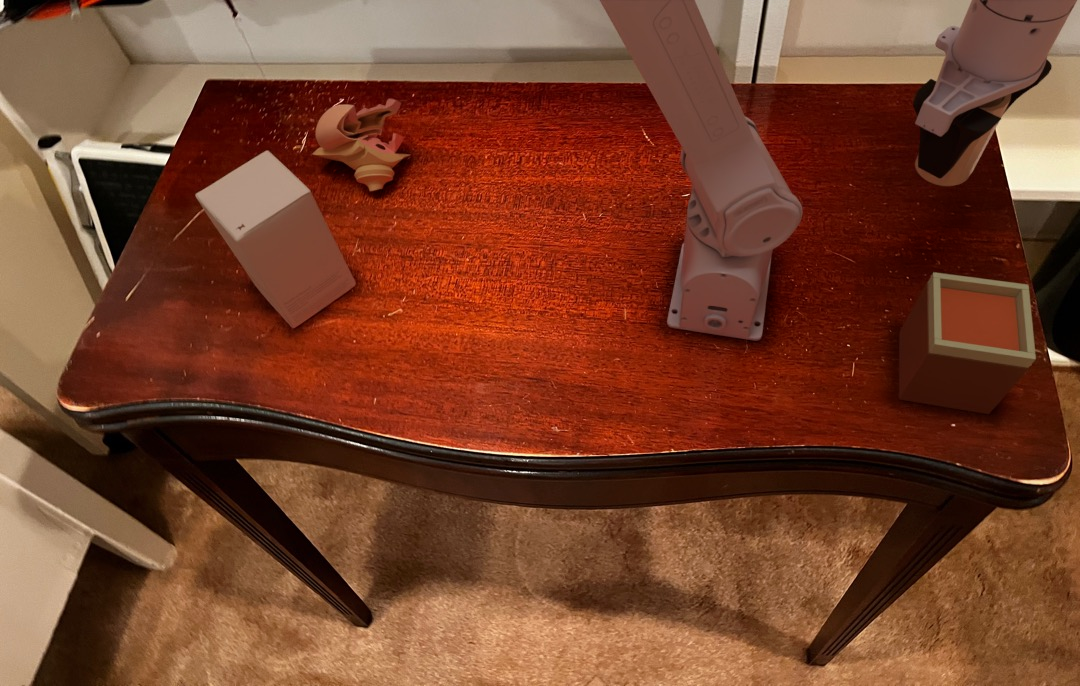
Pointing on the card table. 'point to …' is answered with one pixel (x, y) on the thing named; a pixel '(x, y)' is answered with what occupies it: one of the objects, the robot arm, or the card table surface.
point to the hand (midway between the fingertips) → (948, 153)
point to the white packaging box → (278, 237)
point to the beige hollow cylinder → (969, 150)
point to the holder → (965, 343)
